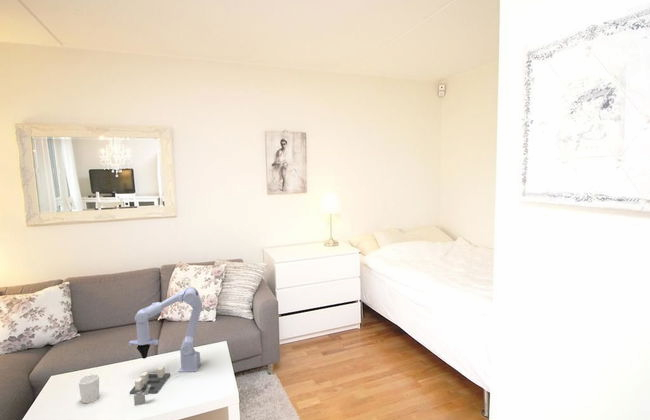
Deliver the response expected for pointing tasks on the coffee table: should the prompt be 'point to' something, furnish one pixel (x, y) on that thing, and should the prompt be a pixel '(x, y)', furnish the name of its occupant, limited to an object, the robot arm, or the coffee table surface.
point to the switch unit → (152, 384)
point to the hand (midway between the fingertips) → (144, 357)
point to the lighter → (141, 396)
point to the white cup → (89, 388)
